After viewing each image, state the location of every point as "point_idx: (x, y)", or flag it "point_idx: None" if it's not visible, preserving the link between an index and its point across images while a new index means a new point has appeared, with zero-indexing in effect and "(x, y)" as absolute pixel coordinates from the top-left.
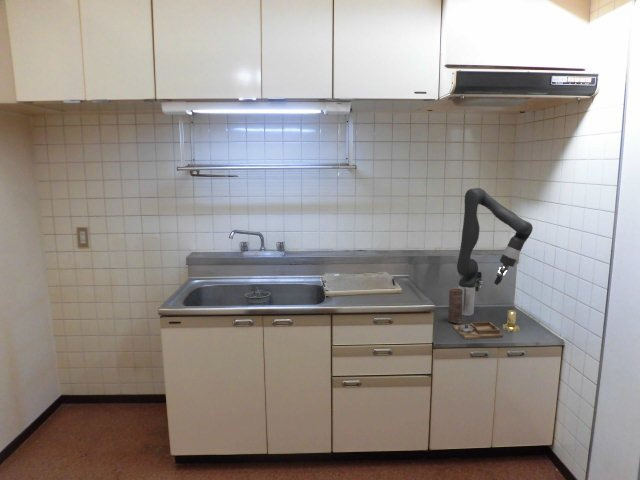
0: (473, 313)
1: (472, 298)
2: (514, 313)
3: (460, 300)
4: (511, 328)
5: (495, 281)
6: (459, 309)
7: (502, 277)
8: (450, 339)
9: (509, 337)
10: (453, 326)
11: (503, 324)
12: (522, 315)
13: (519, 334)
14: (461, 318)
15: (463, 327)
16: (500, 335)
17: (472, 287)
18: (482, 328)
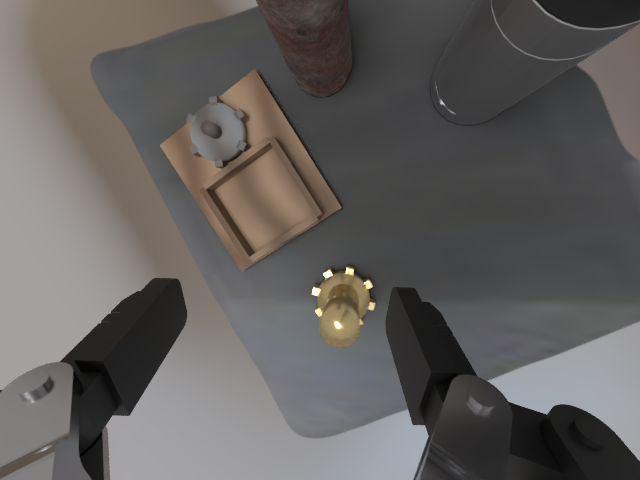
0: (468, 124)
1: (491, 77)
2: (324, 337)
3: (265, 9)
4: (318, 300)
5: (140, 303)
6: (281, 47)
7: (413, 416)
8: (139, 96)
9: (256, 291)
10: (251, 74)
11: (349, 270)
12: (543, 340)
13: (301, 323)
14: (311, 86)
15: (212, 119)
16: (237, 263)
17: (549, 11)
18: (274, 193)
